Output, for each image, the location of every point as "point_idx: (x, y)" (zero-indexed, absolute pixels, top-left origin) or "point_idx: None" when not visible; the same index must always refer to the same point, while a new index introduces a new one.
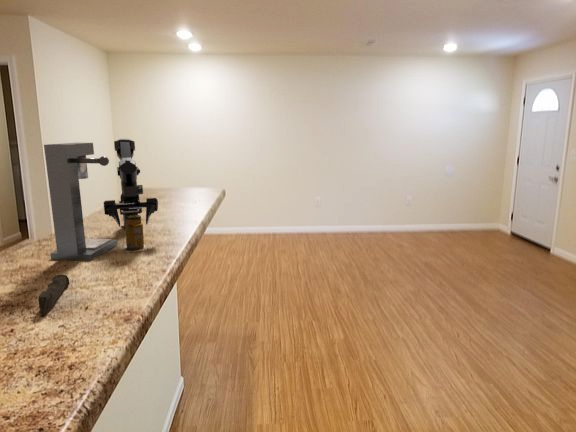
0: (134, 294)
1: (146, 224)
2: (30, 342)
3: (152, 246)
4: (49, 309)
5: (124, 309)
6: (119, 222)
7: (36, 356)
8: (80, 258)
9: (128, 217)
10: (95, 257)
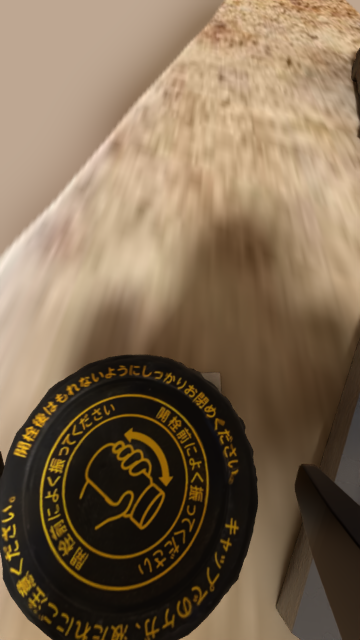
0: (206, 74)
1: (2, 468)
2: (341, 22)
3: None
4: (354, 64)
5: (225, 44)
6: (326, 489)
7: (321, 5)
8: None
9: (212, 398)
10: (357, 349)
